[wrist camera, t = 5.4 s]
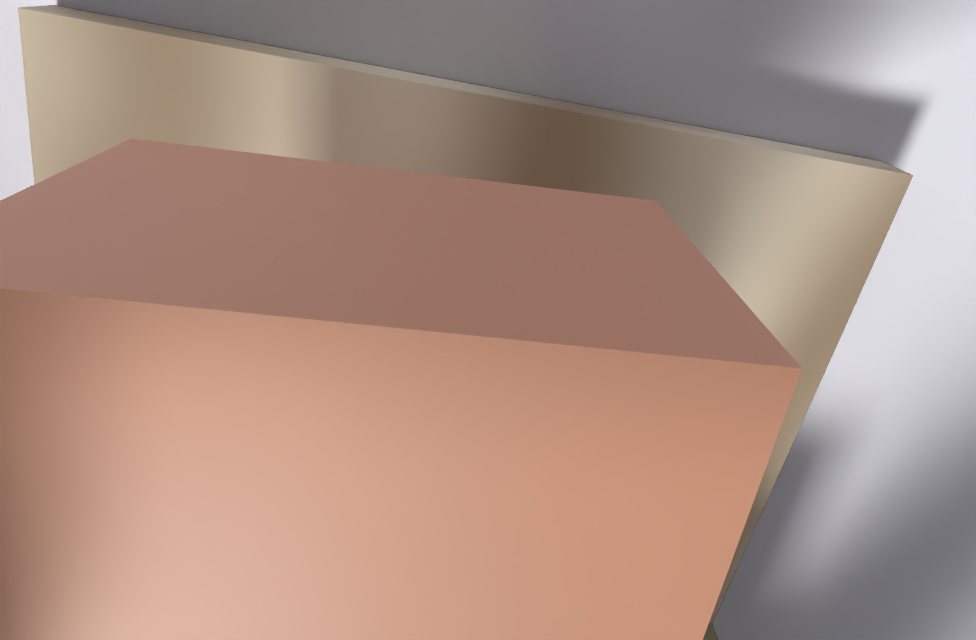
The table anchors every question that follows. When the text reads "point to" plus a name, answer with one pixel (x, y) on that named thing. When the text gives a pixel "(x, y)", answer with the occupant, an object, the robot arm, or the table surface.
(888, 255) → the table surface
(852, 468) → the table surface
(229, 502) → the pink rectangular block
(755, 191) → the shelf
